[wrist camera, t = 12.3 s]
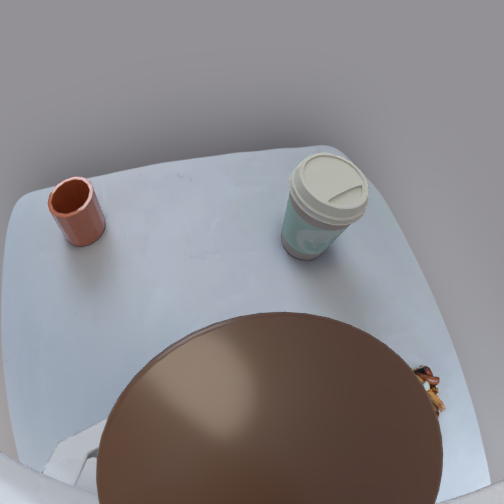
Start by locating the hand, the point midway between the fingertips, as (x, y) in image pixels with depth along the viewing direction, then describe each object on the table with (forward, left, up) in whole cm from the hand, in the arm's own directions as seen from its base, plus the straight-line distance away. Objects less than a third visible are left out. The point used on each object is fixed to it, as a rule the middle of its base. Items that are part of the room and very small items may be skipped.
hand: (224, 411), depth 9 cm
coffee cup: (+14, +19, -24) cm, 34 cm away
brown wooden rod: (0, -1, -10) cm, 10 cm away
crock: (-14, +23, -24) cm, 36 cm away
